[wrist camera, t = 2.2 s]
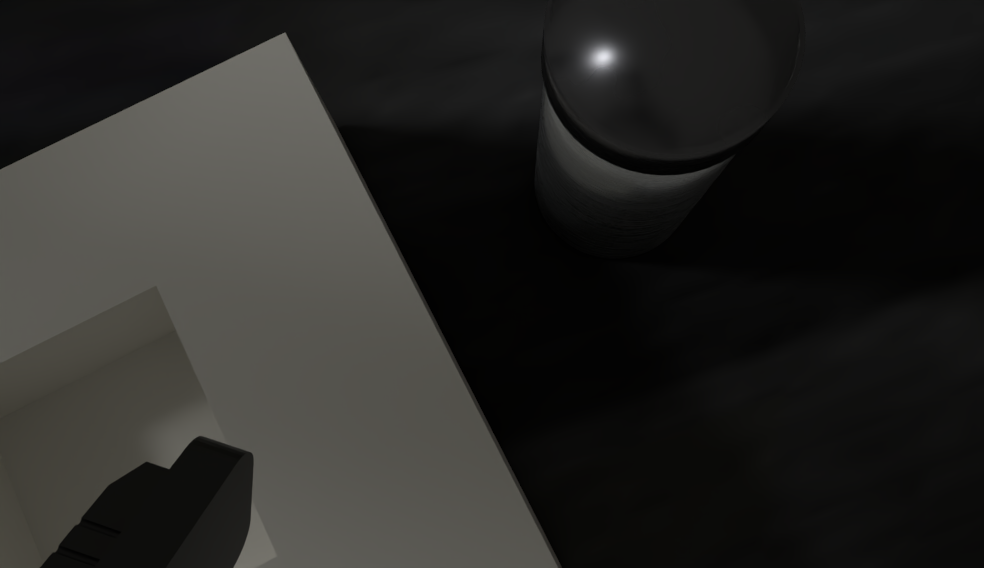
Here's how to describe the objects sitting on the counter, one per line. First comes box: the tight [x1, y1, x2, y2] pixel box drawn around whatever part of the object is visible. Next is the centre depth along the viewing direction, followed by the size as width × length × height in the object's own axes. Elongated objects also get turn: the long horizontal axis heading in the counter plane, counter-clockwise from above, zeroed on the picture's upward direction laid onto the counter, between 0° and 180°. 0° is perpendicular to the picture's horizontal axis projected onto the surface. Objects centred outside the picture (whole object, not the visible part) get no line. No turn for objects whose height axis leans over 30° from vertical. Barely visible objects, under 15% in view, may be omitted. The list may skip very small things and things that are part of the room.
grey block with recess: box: [0, 33, 562, 568], centre depth 22 cm, size 16×18×6 cm
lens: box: [534, 0, 805, 259], centre depth 21 cm, size 5×5×10 cm
